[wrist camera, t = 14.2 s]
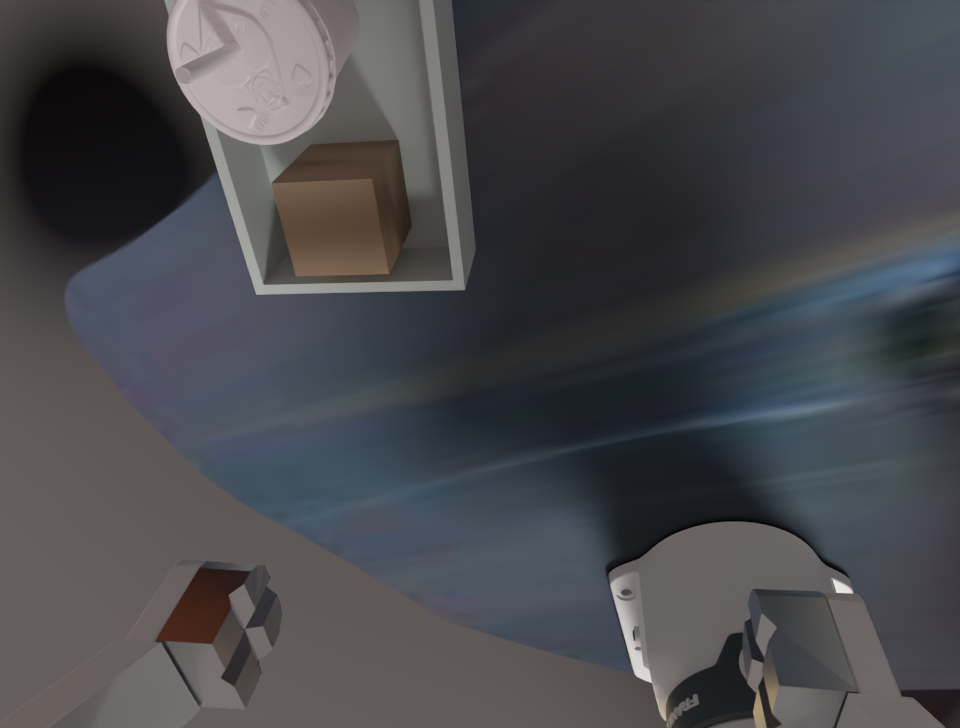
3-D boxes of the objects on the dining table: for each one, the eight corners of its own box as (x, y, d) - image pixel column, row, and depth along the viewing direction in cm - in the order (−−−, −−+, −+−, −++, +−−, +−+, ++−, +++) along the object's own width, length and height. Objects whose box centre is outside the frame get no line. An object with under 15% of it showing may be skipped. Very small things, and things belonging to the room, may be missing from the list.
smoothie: (329, -86, 31) (188, -70, 19) (412, 43, 34) (330, 124, 22) (233, -1, 33) (58, 58, 22) (317, 113, 36) (200, 217, 25)
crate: (475, 249, 41) (465, 290, 36) (286, 255, 42) (256, 294, 38) (440, -117, 30) (420, -117, 26) (192, -89, 32) (137, -86, 28)
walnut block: (411, 225, 39) (389, 273, 34) (329, 229, 40) (296, 276, 35) (398, 139, 36) (371, 178, 32) (310, 144, 37) (270, 183, 32)
